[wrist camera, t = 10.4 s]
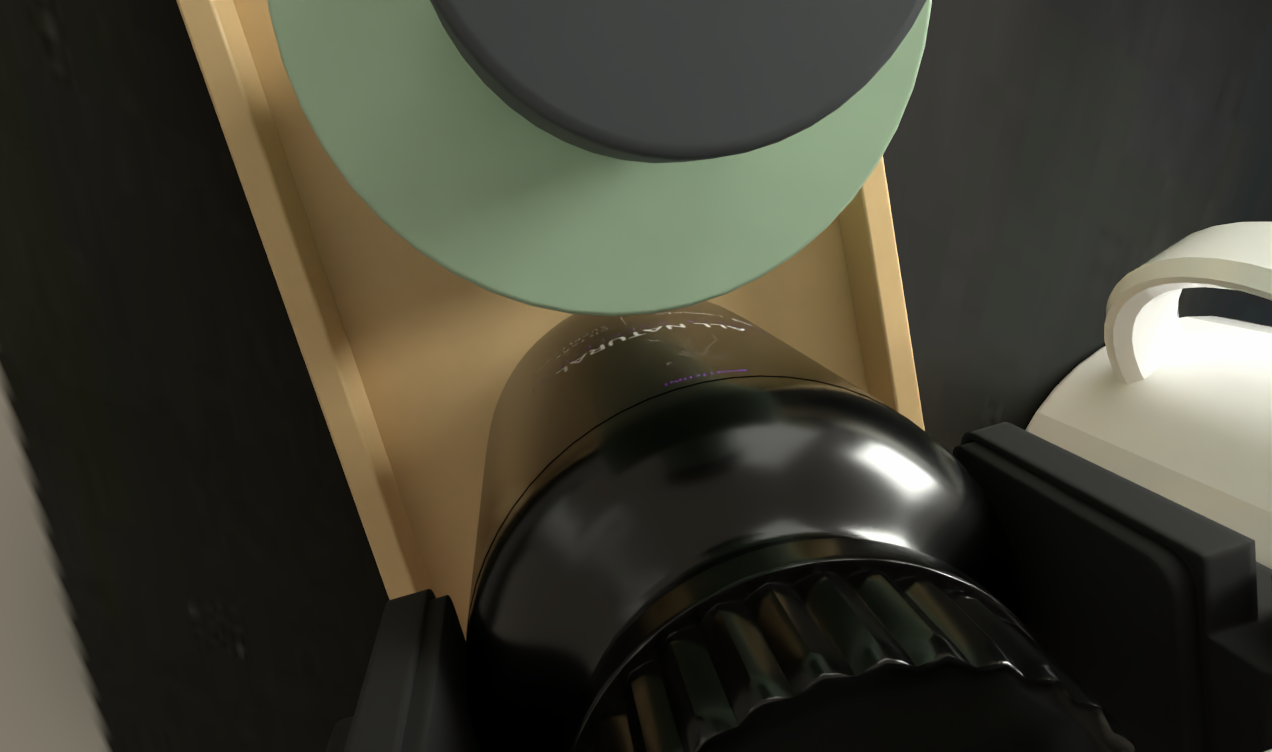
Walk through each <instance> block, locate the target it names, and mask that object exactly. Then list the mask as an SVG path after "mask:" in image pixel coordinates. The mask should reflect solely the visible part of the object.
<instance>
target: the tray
mask: <svg viewBox="0 0 1272 752" xmlns="http://www.w3.org/2000/svg"><path fill="white" fill-rule="evenodd" d="M176 1H177V4H178V7H179V10H180V12H181V15H182V18H183V21H184V24H185V26H186V29H187V32H188V35H189V38H190V40H191V43H192V46H193V49H194V52H195V55H196V57H197V60H198V63H199V66H200V69H201V71H202V74H203V77H204V80H205V83H206V85H207V88H208V91H209V94H210V97H211V99H212V102H213V105H214V108H215V111H216V114H217V116H218V119H219V122H220V125H221V128H222V130H223V133H224V136H225V139H226V142H227V144H228V147H229V150H230V153H231V156H232V159H233V161H234V164H235V167H236V170H237V173H238V175H239V178H240V181H241V184H242V187H243V189H244V192H245V195H246V198H247V201H248V203H249V206H250V209H251V212H252V215H253V218H254V220H255V223H256V226H257V229H258V232H259V234H260V237H261V240H262V243H263V246H264V248H265V251H266V254H267V257H268V260H269V263H270V265H271V268H272V271H273V274H274V277H275V279H276V282H277V285H278V288H279V291H280V293H281V296H282V299H283V302H284V305H285V307H286V310H287V313H288V316H289V319H290V322H291V324H292V327H293V330H294V333H295V336H296V338H297V341H298V344H299V347H300V350H301V352H302V355H303V358H304V361H305V364H306V367H307V369H308V372H309V375H310V378H311V381H312V383H313V386H314V389H315V392H316V395H317V397H318V400H319V403H320V406H321V409H322V411H323V414H324V417H325V420H326V423H327V426H328V428H329V431H330V434H331V437H332V440H333V442H334V445H335V448H336V451H337V454H338V456H339V459H340V462H341V465H342V468H343V471H344V473H345V476H346V479H347V482H348V485H349V487H350V490H351V493H352V496H353V499H354V501H355V504H356V507H357V510H358V513H359V515H360V518H361V521H362V524H363V527H364V530H365V532H366V535H367V538H368V541H369V544H370V546H371V549H372V552H373V555H374V558H375V560H376V563H377V566H378V569H379V572H380V575H381V577H382V580H383V583H384V586H385V589H386V591H387V594H388V597H389V600H392V599H395V598H399V597H402V596H406V595H409V594H413V593H416V592H419V591H423V590H426V589H431V590H432V591H433V593H434V594H435V596H436V598H438V597H442V596H445V595H449V596H450V598H451V600H452V602H453V604H454V607H455V610H456V613H457V616H458V619H459V622H460V625H461V628H462V631H463V634H464V637H465V640H466V630H467V620H468V611H469V601H470V592H471V583H472V574H473V565H474V556H475V547H476V538H477V529H478V520H479V511H480V502H481V493H482V484H483V475H484V466H485V457H486V450H487V442H488V438H489V431H490V426H491V422H492V418H493V414H494V411H495V408H496V405H497V402H498V400H499V397H500V395H501V393H502V391H503V389H504V386H505V384H506V382H507V380H508V379H509V377H510V375H511V374H512V372H513V370H514V369H515V367H516V366H517V364H518V363H519V362H520V360H521V359H522V358H523V356H524V355H525V354H526V353H527V351H528V350H529V349H530V348H531V347H532V346H533V345H534V344H535V343H536V342H537V341H538V340H539V339H540V338H541V337H542V336H543V335H544V334H546V333H547V332H548V331H549V330H550V329H552V328H553V327H554V326H556V325H557V324H558V323H560V322H561V321H563V320H564V319H566V318H568V317H569V316H571V315H573V314H570V313H565V312H560V311H555V310H550V309H545V308H539V307H534V306H530V305H527V304H524V303H521V302H518V301H515V300H512V299H509V298H506V297H503V296H500V295H498V294H495V293H492V292H490V291H487V290H485V289H483V288H481V287H479V286H477V285H475V284H473V283H471V282H469V281H467V280H465V279H463V278H461V277H459V276H457V275H455V274H453V273H451V272H450V271H448V270H447V269H445V268H443V267H442V266H440V265H439V264H437V263H436V262H434V261H433V260H431V259H430V258H428V257H427V256H425V255H424V254H422V253H421V252H419V251H417V250H416V249H415V248H414V247H412V246H411V245H410V244H409V243H408V242H407V241H405V240H404V239H403V238H402V237H401V236H400V235H398V234H397V233H396V232H395V231H394V230H392V229H391V228H390V227H389V226H388V225H387V224H385V223H384V222H383V221H382V220H381V219H380V218H379V217H378V216H377V215H376V214H375V213H374V211H373V210H372V209H371V208H370V207H369V206H368V205H367V204H366V203H365V202H364V201H363V199H362V198H361V197H360V196H359V195H358V194H357V193H356V192H355V191H354V190H353V189H352V188H351V186H350V185H349V184H348V182H347V181H346V179H345V178H344V177H343V175H342V174H341V172H340V171H339V170H338V168H337V167H336V165H335V164H334V163H333V161H332V160H331V159H330V157H329V156H328V154H327V153H326V152H325V150H324V149H323V147H322V145H321V143H320V142H319V140H318V138H317V136H316V134H315V132H314V131H313V129H312V127H311V125H310V123H309V122H308V120H307V118H306V116H305V114H304V112H303V111H302V109H301V107H300V105H299V102H298V100H297V97H296V95H295V92H294V90H293V87H292V85H291V82H290V80H289V77H288V75H287V72H286V70H285V67H284V65H283V62H282V60H281V56H280V52H279V48H278V44H277V41H276V37H275V33H274V29H273V25H272V22H271V18H270V14H269V9H268V2H267V0H176ZM707 301H708V302H711V303H713V304H716V305H719V306H721V307H723V308H725V309H727V310H729V311H731V312H733V313H735V314H737V315H739V316H741V317H743V318H745V319H747V320H748V321H750V322H752V323H753V324H755V325H757V326H758V327H760V328H762V329H763V330H765V331H766V332H768V333H770V334H771V335H773V336H775V337H776V338H778V339H780V340H781V341H783V342H785V343H786V344H788V345H789V346H791V347H793V348H794V349H796V350H798V351H799V352H801V353H803V354H804V355H806V356H807V357H809V358H811V359H812V360H814V361H816V362H817V363H819V364H821V365H822V366H824V367H825V368H827V369H829V370H830V371H832V372H834V373H835V374H837V375H839V376H840V377H842V378H844V379H845V380H847V381H848V382H850V383H852V384H853V385H855V386H857V387H858V388H860V389H862V390H863V391H865V392H866V393H868V394H870V395H871V396H873V397H875V398H876V399H878V400H879V401H881V402H883V403H884V404H886V405H887V406H889V407H891V408H892V409H894V410H895V411H897V412H899V413H900V414H902V415H903V416H905V417H907V418H908V419H910V420H911V421H912V422H914V423H915V424H916V425H917V426H919V427H920V428H921V429H923V430H924V431H925V429H924V423H923V416H922V410H921V403H920V397H919V390H918V384H917V377H916V371H915V364H914V358H913V351H912V345H911V338H910V331H909V325H908V318H907V312H906V305H905V299H904V292H903V286H902V279H901V273H900V266H899V260H898V253H897V247H896V240H895V233H894V227H893V220H892V214H891V207H890V201H889V194H888V188H887V181H886V175H885V168H884V162H883V155H882V157H881V159H880V161H879V163H878V164H877V166H876V167H875V169H874V170H873V172H872V173H871V174H870V176H869V177H868V179H867V180H866V181H865V183H864V184H863V186H862V187H861V189H860V190H859V191H858V193H857V194H856V196H855V197H854V198H853V200H852V201H851V202H850V203H849V204H848V205H847V206H846V207H845V208H844V209H843V211H842V212H841V213H840V214H839V215H838V216H837V217H836V218H835V219H834V220H833V221H832V223H831V224H830V225H829V226H828V227H827V228H826V229H825V230H824V231H823V232H821V233H820V234H819V235H818V236H817V237H816V238H814V239H813V240H812V241H811V242H810V243H809V244H807V245H806V246H805V247H804V248H803V249H802V250H800V251H799V252H798V253H797V254H796V255H794V256H793V257H791V258H790V259H788V260H787V261H785V262H784V263H782V264H781V265H779V266H778V267H776V268H775V269H773V270H772V271H770V272H768V273H767V274H765V275H764V276H762V277H760V278H758V279H756V280H754V281H752V282H750V283H748V284H746V285H744V286H742V287H740V288H738V289H736V290H734V291H732V292H730V293H728V294H725V295H722V296H719V297H716V298H713V299H710V300H707Z"/></svg>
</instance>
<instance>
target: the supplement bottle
mask: <svg viewBox="0 0 1272 752" xmlns="http://www.w3.org/2000/svg"><path fill="white" fill-rule="evenodd" d="M466 688H467V699H468V707H469V712H470V717H471V722H472V727H473V731H474V734H475V737H476V740H477V743H478V746H479V749H480V752H1137V750H1136V746H1135V743H1134V741H1133V739H1132V738H1131V737H1130V735H1129V734H1128V733H1127V731H1126V730H1125V729H1124V728H1123V726H1122V725H1121V724H1120V723H1119V722H1118V721H1117V720H1116V719H1115V718H1114V717H1112V716H1111V715H1110V714H1109V713H1108V712H1107V711H1106V710H1105V709H1104V708H1103V707H1102V706H1101V705H1100V704H1099V703H1098V701H1097V700H1096V699H1095V697H1094V696H1093V695H1092V693H1091V692H1090V691H1089V690H1088V689H1087V688H1086V687H1085V686H1084V685H1083V684H1082V683H1081V682H1080V681H1079V680H1077V679H1076V678H1075V677H1074V676H1073V675H1072V674H1071V673H1070V672H1069V671H1068V670H1066V669H1065V668H1064V667H1063V666H1062V665H1061V664H1060V663H1059V662H1057V661H1056V660H1055V659H1054V658H1053V657H1052V656H1051V655H1050V654H1049V653H1047V652H1046V651H1045V650H1044V649H1043V648H1042V646H1041V645H1040V643H1039V642H1038V640H1037V639H1036V638H1035V636H1034V635H1033V634H1032V633H1031V631H1030V630H1029V629H1028V628H1027V627H1026V617H1025V608H1024V599H1023V591H1022V586H1021V582H1020V577H1019V573H1018V569H1017V564H1016V560H1015V558H1014V555H1013V552H1012V549H1011V546H1010V543H1009V540H1008V537H1007V535H1006V532H1005V530H1004V528H1003V526H1002V524H1001V522H1000V520H999V518H998V515H997V513H996V511H995V510H994V508H993V506H992V505H991V503H990V502H989V500H988V498H987V497H986V495H985V494H984V492H983V490H982V489H981V487H980V486H979V485H978V483H977V482H976V481H975V480H974V478H973V477H972V476H971V474H970V473H969V472H968V471H967V469H966V468H965V467H964V466H963V465H962V464H961V463H960V462H959V461H958V460H957V459H956V458H955V457H954V456H953V455H952V454H951V453H950V452H949V451H948V450H947V449H946V448H945V447H944V446H943V445H941V444H940V443H939V442H938V441H936V440H935V439H934V438H933V437H931V436H930V435H929V434H928V433H926V432H925V431H924V430H923V429H921V428H920V427H919V426H917V425H916V424H915V423H914V422H912V421H911V420H910V419H908V418H907V417H905V416H903V415H902V414H900V413H899V412H897V411H895V410H894V409H892V408H891V407H889V406H887V405H886V404H884V403H883V402H881V401H879V400H878V399H876V398H875V397H873V396H871V395H870V394H868V393H866V392H865V391H863V390H862V389H860V388H858V387H857V386H855V385H853V384H852V383H850V382H848V381H847V380H845V379H844V378H842V377H840V376H839V375H837V374H835V373H834V372H832V371H830V370H829V369H827V368H825V367H824V366H822V365H821V364H819V363H817V362H816V361H814V360H812V359H811V358H809V357H807V356H806V355H804V354H803V353H801V352H799V351H798V350H796V349H794V348H793V347H791V346H789V345H788V344H786V343H785V342H783V341H781V340H780V339H778V338H776V337H775V336H773V335H771V334H770V333H768V332H766V331H765V330H763V329H762V328H760V327H758V326H757V325H755V324H753V323H752V322H750V321H748V320H747V319H745V318H743V317H741V316H739V315H737V314H735V313H733V312H731V311H729V310H727V309H725V308H723V307H721V306H719V305H716V304H713V303H711V302H708V301H704V302H701V303H698V304H695V305H692V306H689V307H684V308H679V309H674V310H669V311H664V312H658V313H653V314H643V315H627V316H596V315H581V314H573V315H571V316H569V317H568V318H566V319H564V320H563V321H561V322H560V323H558V324H557V325H556V326H554V327H553V328H552V329H550V330H549V331H548V332H547V333H546V334H544V335H543V336H542V337H541V338H540V339H539V340H538V341H537V342H536V343H535V344H534V345H533V346H532V347H531V348H530V349H529V350H528V351H527V353H526V354H525V355H524V356H523V358H522V359H521V360H520V362H519V363H518V364H517V366H516V367H515V369H514V370H513V372H512V374H511V375H510V377H509V379H508V380H507V382H506V384H505V386H504V389H503V391H502V393H501V395H500V397H499V400H498V402H497V405H496V408H495V411H494V414H493V418H492V422H491V426H490V431H489V438H488V442H487V450H486V457H485V466H484V475H483V484H482V493H481V502H480V511H479V520H478V529H477V538H476V547H475V556H474V565H473V574H472V583H471V592H470V601H469V611H468V620H467V630H466Z"/></svg>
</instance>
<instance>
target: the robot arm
mask: <svg viewBox="0 0 1272 752" xmlns="http://www.w3.org/2000/svg"><path fill="white" fill-rule="evenodd" d="M953 456H954V457H955V458H956V459H957V460H958V461H959V462H960V463H961V464H962V465H963V466H964V467H965V468H966V469H967V471H968V472H969V473H970V474H971V476H972V477H973V478H974V480H975V481H976V482H977V483H978V485H979V486H980V487H981V489H982V490H983V492H984V494H985V495H986V497H987V498H988V500H989V502H990V503H991V505H992V506H993V508H994V510H995V511H996V513H997V515H998V518H999V520H1000V522H1001V524H1002V526H1003V528H1004V530H1005V532H1006V535H1007V537H1008V540H1009V543H1010V546H1011V549H1012V552H1013V555H1014V558H1015V560H1016V564H1017V569H1018V573H1019V577H1020V582H1021V586H1022V591H1023V599H1024V608H1025V617H1026V627H1027V628H1028V629H1029V630H1030V631H1031V633H1032V634H1033V635H1034V636H1035V638H1036V639H1037V640H1038V642H1039V643H1040V645H1041V646H1042V648H1043V649H1044V650H1045V651H1046V652H1047V653H1049V654H1050V655H1051V656H1052V657H1053V658H1054V659H1055V660H1056V661H1057V662H1059V663H1060V664H1061V665H1062V666H1063V667H1064V668H1065V669H1066V670H1068V671H1069V672H1070V673H1071V674H1072V675H1073V676H1074V677H1075V678H1076V679H1077V680H1079V681H1080V682H1081V683H1082V684H1083V685H1084V686H1085V687H1086V688H1087V689H1088V690H1089V691H1090V692H1091V693H1092V695H1093V696H1094V697H1095V699H1096V700H1097V701H1098V703H1099V704H1100V705H1101V706H1102V707H1103V708H1104V709H1105V710H1106V711H1107V712H1108V713H1109V714H1110V715H1111V716H1112V717H1114V718H1115V719H1116V720H1117V721H1118V722H1119V723H1120V724H1121V725H1122V726H1123V728H1124V729H1125V730H1126V731H1127V733H1128V734H1129V735H1130V737H1131V738H1132V739H1133V741H1134V743H1135V746H1136V750H1137V752H1272V569H1270V568H1268V567H1266V566H1264V565H1262V564H1260V563H1258V562H1256V551H1255V540H1253V539H1251V538H1249V537H1247V536H1244V535H1242V534H1240V533H1238V532H1236V531H1234V530H1232V529H1230V528H1228V527H1226V526H1224V525H1222V524H1219V523H1217V522H1215V521H1213V520H1211V519H1209V518H1207V517H1205V516H1203V515H1201V514H1199V513H1197V512H1194V511H1192V510H1190V509H1188V508H1186V507H1184V506H1182V505H1180V504H1178V503H1176V502H1174V501H1171V500H1169V499H1167V498H1165V497H1163V496H1161V495H1159V494H1157V493H1155V492H1153V491H1151V490H1149V489H1146V488H1144V487H1142V486H1140V485H1138V484H1136V483H1134V482H1132V481H1130V480H1128V479H1126V478H1123V477H1121V476H1119V475H1117V474H1115V473H1113V472H1111V471H1109V470H1107V469H1105V468H1103V467H1101V466H1098V465H1096V464H1094V463H1092V462H1090V461H1088V460H1086V459H1084V458H1082V457H1080V456H1078V455H1076V454H1073V453H1071V452H1069V451H1067V450H1065V449H1063V448H1061V447H1059V446H1057V445H1055V444H1053V443H1050V442H1048V441H1046V440H1044V439H1042V438H1040V437H1038V436H1036V435H1034V434H1032V433H1030V432H1028V431H1025V430H1023V429H1021V428H1019V427H1017V426H1015V425H1013V424H1011V423H1007V422H1002V423H999V424H995V425H992V426H988V427H985V428H982V429H978V430H975V431H971V432H968V433H965V435H964V436H963V438H962V442H961V445H960V446H957V447H955V448H954V450H953ZM326 752H480V749H479V746H478V743H477V740H476V737H475V734H474V731H473V727H472V722H471V717H470V712H469V707H468V699H467V688H466V640H465V637H464V634H463V631H462V628H461V625H460V622H459V619H458V616H457V613H456V610H455V607H454V604H453V602H452V600H451V598H450V596H449V595H445V596H442V597H438V598H436V596H435V594H434V593H433V591H432V590H431V589H426V590H423V591H419V592H416V593H413V594H409V595H406V596H402V597H399V598H395V599H392V600H388V601H387V603H386V605H385V608H384V612H383V615H382V619H381V622H380V626H379V629H378V633H377V636H376V640H375V643H374V647H373V650H372V654H371V657H370V661H369V664H368V668H367V671H366V675H365V678H364V682H363V685H362V689H361V692H360V696H359V699H358V703H357V706H356V710H355V713H354V716H351V717H348V718H344V719H341V720H340V721H338V722H336V724H335V726H334V728H333V730H332V733H331V737H330V740H329V743H328V746H327V749H326Z"/></svg>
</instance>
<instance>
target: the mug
mask: <svg viewBox="0 0 1272 752" xmlns="http://www.w3.org/2000/svg"><path fill="white" fill-rule="evenodd" d="M1194 287H1211V288H1223V289H1231V290H1236V291H1241V292H1246V293H1250V294H1253V295H1257V296H1260V297H1263V298H1266V299H1270V300H1272V222H1238V223H1232V224H1225V225H1218V226H1213V227H1210V228H1207V229H1204V230H1201V231H1198V232H1195V233H1192V234H1190V235H1189V236H1187V237H1185V238H1183V239H1182V240H1180V241H1178V242H1176V243H1175V244H1173V245H1171V246H1170V247H1168V248H1167V249H1165V250H1164V251H1162V252H1161V253H1159V254H1158V255H1156V256H1154V257H1153V258H1151V259H1150V260H1148V261H1147V262H1145V263H1144V264H1142V265H1140V266H1139V267H1137V268H1136V269H1134V270H1133V271H1131V272H1130V273H1128V274H1127V275H1126V276H1125V277H1124V278H1123V279H1122V280H1121V281H1119V282H1118V283H1117V284H1116V286H1115V287H1114V289H1113V291H1112V293H1111V295H1110V296H1109V298H1108V302H1107V306H1106V310H1105V324H1104V340H1105V345H1106V346H1104V347H1102V348H1100V349H1099V350H1098V351H1096V352H1095V353H1094V354H1092V355H1091V356H1090V357H1088V358H1087V359H1086V360H1084V361H1083V362H1082V363H1080V364H1079V365H1078V366H1076V367H1075V368H1074V369H1073V370H1072V371H1071V372H1070V373H1069V374H1068V375H1067V376H1066V377H1065V378H1064V379H1063V380H1062V381H1061V382H1060V383H1059V384H1058V385H1057V386H1056V387H1055V388H1054V389H1053V391H1052V392H1051V393H1050V395H1049V396H1048V397H1047V398H1046V400H1045V401H1044V402H1043V404H1042V405H1041V406H1040V407H1039V409H1038V410H1037V411H1036V413H1035V414H1034V416H1033V418H1032V420H1031V421H1030V423H1029V425H1028V426H1027V428H1026V430H1025V431H1028V432H1030V433H1032V434H1034V435H1036V436H1038V437H1040V438H1042V439H1044V440H1046V441H1048V442H1050V443H1053V444H1055V445H1057V446H1059V447H1061V448H1063V449H1065V450H1067V451H1069V452H1071V453H1073V454H1076V455H1078V456H1080V457H1082V458H1084V459H1086V460H1088V461H1090V462H1092V463H1094V464H1096V465H1098V466H1101V467H1103V468H1105V469H1107V470H1109V471H1111V472H1113V473H1115V474H1117V475H1119V476H1121V477H1123V478H1126V479H1128V480H1130V481H1132V482H1134V483H1136V484H1138V485H1140V486H1142V487H1144V488H1146V489H1149V490H1151V491H1153V492H1155V493H1157V494H1159V495H1161V496H1163V497H1165V498H1167V499H1169V500H1171V501H1174V502H1176V503H1178V504H1180V505H1182V506H1184V507H1186V508H1188V509H1190V510H1192V511H1194V512H1197V513H1199V514H1201V515H1203V516H1205V517H1207V518H1209V519H1211V520H1213V521H1215V522H1217V523H1219V524H1222V525H1224V526H1226V527H1228V528H1230V529H1232V530H1234V531H1236V532H1238V533H1240V534H1242V535H1244V536H1247V537H1249V538H1251V539H1253V540H1255V551H1256V562H1258V563H1260V564H1262V565H1264V566H1266V567H1268V568H1270V569H1272V326H1268V325H1263V324H1257V323H1252V322H1247V321H1241V320H1235V319H1229V318H1222V317H1216V316H1201V317H1183V318H1179V314H1178V299H1179V296H1180V293H1181V291H1182V288H1194Z"/></svg>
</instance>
